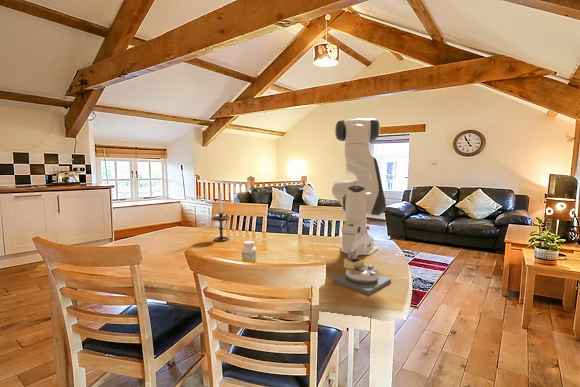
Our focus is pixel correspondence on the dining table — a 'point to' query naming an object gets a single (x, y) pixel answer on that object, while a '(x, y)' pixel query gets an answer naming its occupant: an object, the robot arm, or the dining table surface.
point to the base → (362, 287)
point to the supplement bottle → (249, 252)
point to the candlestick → (220, 220)
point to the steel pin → (352, 256)
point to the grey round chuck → (360, 272)
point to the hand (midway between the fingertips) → (354, 256)
